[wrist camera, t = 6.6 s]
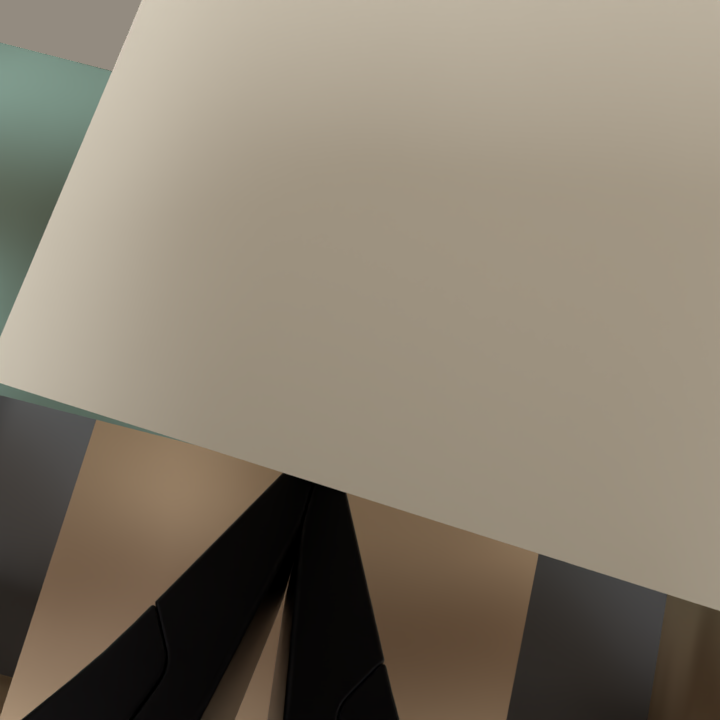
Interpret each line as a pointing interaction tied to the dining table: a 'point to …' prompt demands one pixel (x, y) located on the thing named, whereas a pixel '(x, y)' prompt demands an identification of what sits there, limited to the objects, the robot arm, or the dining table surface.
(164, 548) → the trap board
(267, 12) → the cream block
